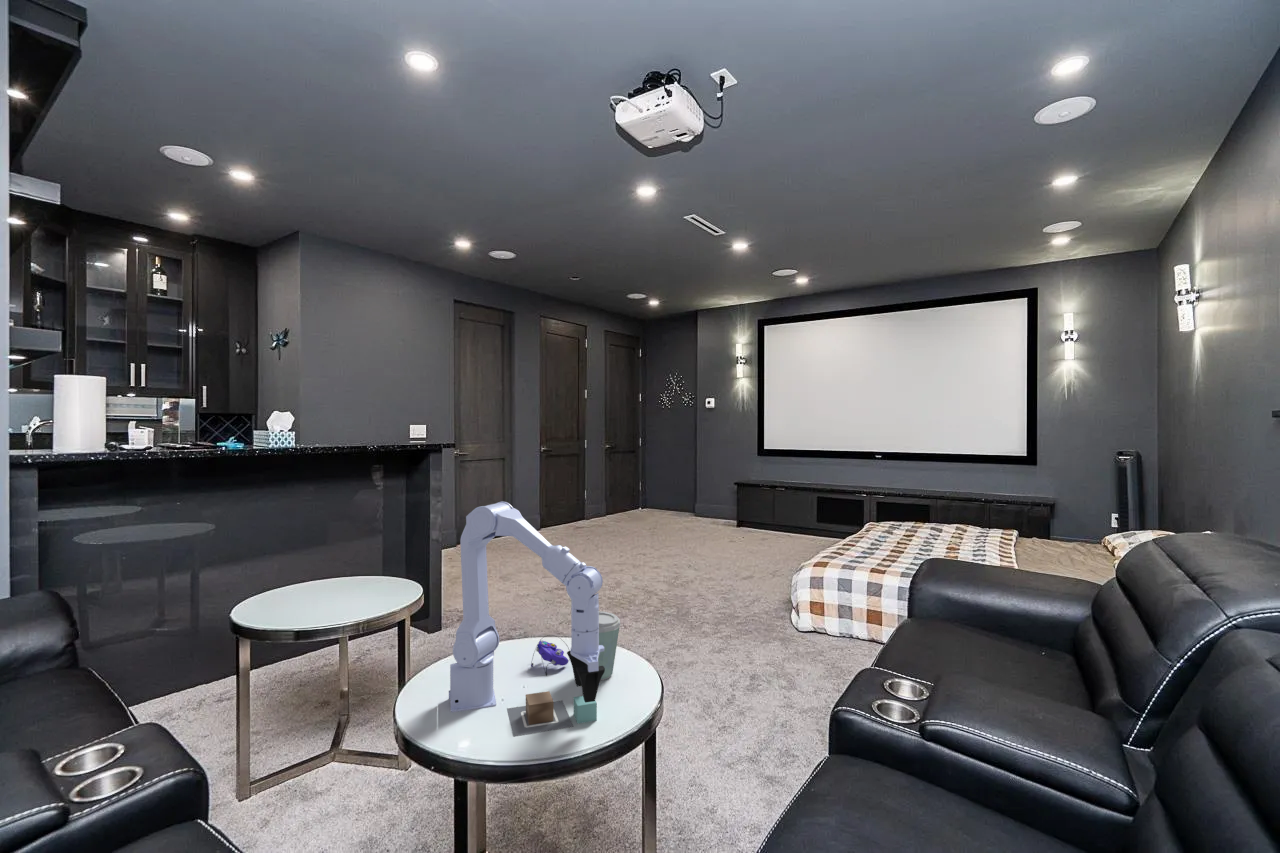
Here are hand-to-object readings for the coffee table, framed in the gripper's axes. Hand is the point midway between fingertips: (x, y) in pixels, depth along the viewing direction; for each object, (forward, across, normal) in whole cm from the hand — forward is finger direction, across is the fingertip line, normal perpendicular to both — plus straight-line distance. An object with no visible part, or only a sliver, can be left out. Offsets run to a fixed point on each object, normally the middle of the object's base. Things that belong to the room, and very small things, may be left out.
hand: (585, 693), depth 122 cm
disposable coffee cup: (+6, +19, -8) cm, 21 cm away
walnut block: (+5, +3, +9) cm, 11 cm away
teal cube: (+6, 0, 0) cm, 6 cm away
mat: (+5, +3, +9) cm, 11 cm away
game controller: (+6, +28, +3) cm, 29 cm away
